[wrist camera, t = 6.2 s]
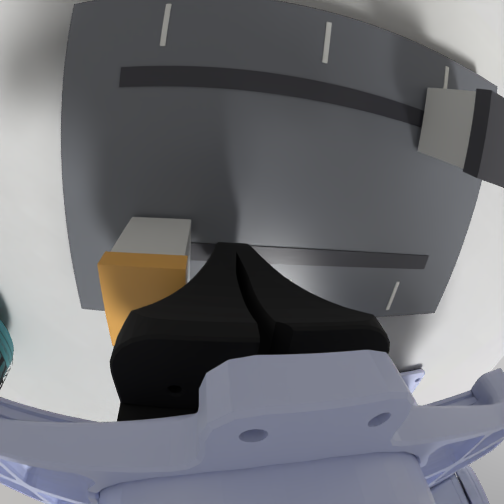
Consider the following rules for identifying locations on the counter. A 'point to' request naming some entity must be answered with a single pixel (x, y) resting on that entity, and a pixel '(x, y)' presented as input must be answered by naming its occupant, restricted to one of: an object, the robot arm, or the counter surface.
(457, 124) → the fader black
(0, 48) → the counter surface
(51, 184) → the counter surface
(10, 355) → the beverage bottle
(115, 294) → the fader orange
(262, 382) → the robot arm
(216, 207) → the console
